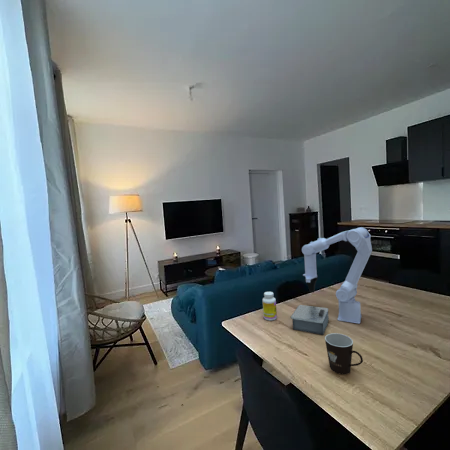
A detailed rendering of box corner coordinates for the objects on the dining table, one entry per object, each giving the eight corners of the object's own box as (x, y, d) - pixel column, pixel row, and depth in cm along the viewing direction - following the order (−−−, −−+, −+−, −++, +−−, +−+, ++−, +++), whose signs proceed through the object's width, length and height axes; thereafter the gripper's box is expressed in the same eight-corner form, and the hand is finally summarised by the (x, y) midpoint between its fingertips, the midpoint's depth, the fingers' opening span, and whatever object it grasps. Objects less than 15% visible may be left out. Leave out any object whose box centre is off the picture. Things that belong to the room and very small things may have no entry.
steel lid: (328, 309, 117) (328, 306, 117) (322, 323, 104) (322, 319, 104) (298, 306, 124) (298, 302, 124) (290, 318, 112) (290, 314, 111)
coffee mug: (321, 362, 88) (320, 334, 87) (344, 359, 88) (343, 332, 88) (339, 385, 76) (338, 353, 75) (366, 381, 77) (364, 350, 76)
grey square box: (328, 321, 117) (328, 310, 117) (323, 335, 105) (322, 323, 105) (300, 316, 124) (300, 306, 123) (292, 329, 112) (292, 318, 111)
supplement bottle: (277, 321, 121) (275, 295, 120) (263, 320, 122) (261, 295, 121) (276, 315, 127) (275, 290, 126) (263, 315, 129) (262, 290, 128)
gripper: (306, 263, 138) (307, 286, 139) (299, 269, 126) (300, 295, 126) (319, 263, 134) (320, 288, 135) (313, 270, 122) (315, 297, 123)
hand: (311, 291), depth 131 cm, fingers closed
